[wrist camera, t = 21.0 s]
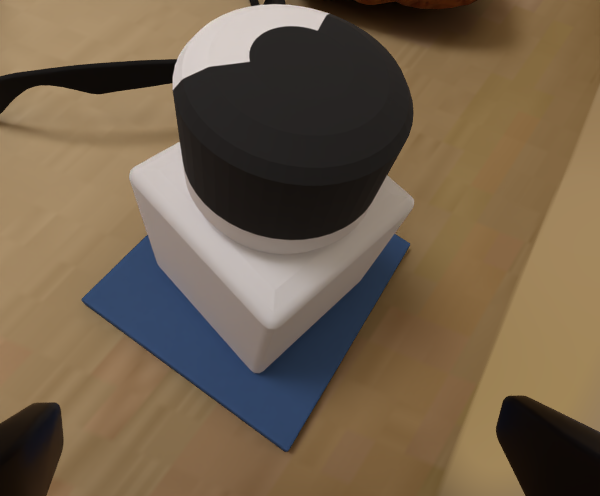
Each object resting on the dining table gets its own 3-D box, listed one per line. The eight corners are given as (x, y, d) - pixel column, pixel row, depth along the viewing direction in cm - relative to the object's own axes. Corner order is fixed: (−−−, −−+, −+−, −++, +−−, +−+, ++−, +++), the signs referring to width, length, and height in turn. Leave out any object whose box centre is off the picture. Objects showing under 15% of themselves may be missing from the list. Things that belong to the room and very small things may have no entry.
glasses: (287, 143, 26) (304, 78, 22) (-47, 133, 22) (-108, 49, 17) (260, -18, 33) (269, -91, 29) (7, -50, 29) (-27, -140, 25)
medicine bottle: (363, 279, 21) (501, 89, 10) (256, 379, 18) (300, 253, 7) (267, 186, 23) (304, -57, 12) (154, 263, 20) (74, 28, 9)
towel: (407, 248, 23) (411, 243, 22) (285, 452, 17) (287, 452, 17) (244, 146, 24) (244, 139, 24) (84, 304, 19) (80, 299, 18)
